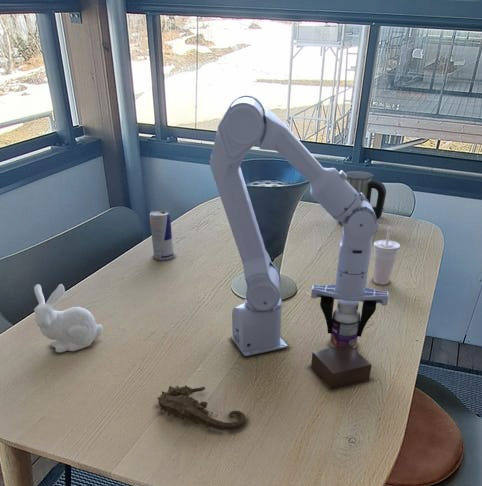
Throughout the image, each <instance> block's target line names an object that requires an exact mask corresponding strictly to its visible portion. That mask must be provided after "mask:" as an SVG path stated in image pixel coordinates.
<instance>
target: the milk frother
mask: <svg viewBox="0 0 482 486" xmlns="http://www.w3.org/2000/svg"><path fill="white" fill-rule="evenodd" d="M344 173H345V174H346V175H347V178H346V181H347V182H348V183H349V184H350V185H351V186H352V187H353V188H354V189H355V190H356V191H357V192H358V193H359V194H360V193H361V192H362V193H363V195H364V196H365V198H366V199H367V200H368V201H369V203H370V204H371V198H372V190H373V189H374V190H376V191H377V199H376V204H375V206H372V208H373V210H374V212H375V215H376V217H377V220H379V219H380V218H381V217H382V215H383V211H384V206H385V201H386V196H387V189H386V186H385V185H384V183H382V182H381V181H379V180H375V179H373V178H374V174H373V173H371V172H368V171H361V170H360V171H359V170H358V171H357V170H352V171H346V172H344ZM338 223H339V224H340V225H342V226H343V224H342V223H341V222H340V221H338Z"/></svg>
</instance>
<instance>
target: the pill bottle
mask: <svg viewBox="0 0 482 486" xmlns="http://www.w3.org/2000/svg"><path fill="white" fill-rule="evenodd" d="M359 305H360V303H359V301H345V300H341V299H337V304H336V306H337V307H336V309H335V310H333V318H332V329H331V334H330V338H329V344H330V346H331V348H333V347H337V346H342V345H347V344H350V345H351V346H352V347H353V348H354V349H355V348H357V343H358V337H359V336H358V330H359V324H360V319H361V314H360V311H358V310H359Z"/></svg>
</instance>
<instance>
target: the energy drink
mask: <svg viewBox="0 0 482 486" xmlns="http://www.w3.org/2000/svg"><path fill="white" fill-rule="evenodd" d="M171 221H172V220H171V214H170V211H169V210H166V209H156V210H151V211H150V213H149V223H150V231H151V242H152V251H153V257H154V258H155V259H156V260H158V261H168V260H171V259H173V257H174V245H173V244H174V243H173V232H172V222H171Z"/></svg>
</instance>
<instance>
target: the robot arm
mask: <svg viewBox="0 0 482 486" xmlns="http://www.w3.org/2000/svg"><path fill="white" fill-rule="evenodd" d="M259 141H260V143H259V150H264V151H274V152H277V153H278V154H279V155H280V156H281V157H282V158H283V159H284V160H286V162H288V163H289V164H290V165H291V166H292V167H293V169H295V170H296V171H297V172H298V173H299V174H300V175H301V176H302V177H303V178H304V179H305V180H306V181H307V182H309V184H310V187H309V188H310V190H309V191H310V196H311V197H312V198H313V199H314V200H315V201H316V202H317V203H318V204H319V205H320V206H321V207H322V208H323V209H324V210H325V212H327V213H328V214H329V215H330V217H332V218H333V219H334V220H335V221H338V222H339V221H340V222H341V223H342V224H343V225H342V224H341V225H342V232H341V240H340V243H339V248H338V249H339V250H338V256H337V257H338V259H337V268H336V277H335V278H336V279H335V284H320V285H319V284H318V285H317V284H313V285H312V286H311V293H310V298H311V299H317V298H319V299H320V301H319V302H320V303H319V305H320V309H321V312H322V313H323V315H324V318H325V323H326V327H327V328H326V329H327V334H330V335H331V329H332V319H333V313H334V304H335V300H339V299H341V300H345V301H358V302H362V307H361V314H360V324H359V330H358V337H360V338H362V334H363V331H364V329H365V327H366V325H367V323H368V322H369V320H370V319H371V317H372V316H373V315H374V313H375V312H376V310H377V304H380V305H381V306H388V301H389V291H384V290H378V289H374V288H370V287H367V281H368V276H369V275H368V274H369V268H370V260H371V253H372V241H373V236H374V235H375V234H376V233H377V231H378V228H379V224H378V219H377V217H376V215H375V212H374V210H373V208H372V207H373V206H372V204H371V202H370V203H369V201H368V200H367V199H366V198H365V196H364V195H363V193H362V192H361V193H360V194H359V193H358V192H357V191H356V190H355V189H354V188H353V187H352V186H351V185H350V184H349V183H348V182H347V181H346V178H347V175H346V174H345V173H346V172H344V170H342V169H341V170H339V171H338V169H336V168H335V167H323V165H322V164H321V163H320V162H319V161H318V160H317V159H316V158H315V157H314V155H313V154H312V153H311V152H310V150H308V149H307V147H306V146H305V145H304V144H303V143H302V141H300V140H299V138H298V137H297V136H296V135H295V134H294V133H293V132H292V131H291V129H290V128H289V127H288V125H287V124H285V123H284V121H282V120H281V119H280V118H279V116H277V115H276V114H275V113H274V112H273V111H271V110H270V109H269V108H267V107H266V108H264V105H263V104H262V102H261V101H260V99H258V98H256V97H255V96H253V95H249V94H243V95H240V96H238V97H236V98H235V99H234V100H233V101H232V102H231V103H230V105H229V106H228V108H227V110H226V111H225V113H224V115H223V117H222V119H221V120H220V122H219V124H218V125H217V127H216V135H215V138H214V143H213V146H212V151H211V152H212V153H211V154H210V160H209V165H210V166H209V167H210V170H211V173H212V177H213V180H214V182H215V185H216V187H217V191H218V194H219V197H220V200H221V203H222V206H223V209H224V212H225V215H226V218H227V222H228V224H229V227H230V230H231V233H232V236H233V239H234V241H235V244H236V248H237V251H238V253H239V257H240V259H241V263H242V267H243V268H242V269H243V276H244V280H245V284H246V292H245V299H244V302H243V303H242V304H240V305H237V306H235V307H233V308H232V311H231V323H232V324H231V325H232V327H231V328H232V329H231V330H232V333H231V334H232V335H231V340H232V342H233V343H234V344H235V345H236V347H237V348H238V349H239V351H240V352H241V353H242V355H243V356H245V357H249V356H254V355H258V354H264V353H268V352H273V351H277V350H278V351H279V350H283V349H287V348H288V344H287V343H286V341H285V340H284V339H283V338H282V337H281V330H282V329H281V328H282V326H281V325H282V305H283V304H282V303H283V301H282V298H281V292H280V281H281V273H280V270H279V268H278V267H277V266H276V265H275V264H274V263H273V262H272V260H271V257H270V254H269V253H268V251H267V249H266V245H265V243H264V239H263V236H262V233H261V230H260V227H259V224H258V220H257V217H256V214H255V210H254V207H253V203H252V200H251V197H250V194H249V192H248V191H249V190H248V188H247V184H246V181H245V178H244V175H243V171H242V168H241V164H242V163H243V161H244V159H245V157H246V155H247V153H248V152H249V151H250V150H251V149H253V147H254V146H256V145H257V143H258V142H259Z"/></svg>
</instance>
